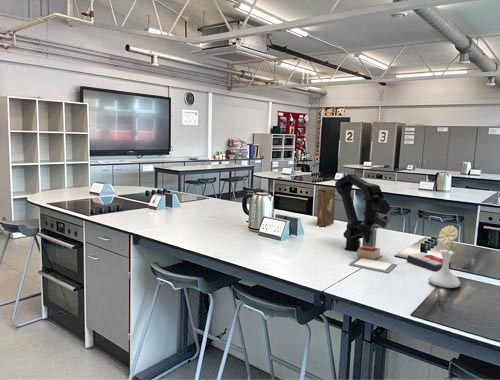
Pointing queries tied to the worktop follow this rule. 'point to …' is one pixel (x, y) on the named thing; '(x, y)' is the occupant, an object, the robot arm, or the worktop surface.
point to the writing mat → (373, 265)
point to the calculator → (426, 261)
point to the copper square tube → (368, 253)
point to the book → (325, 207)
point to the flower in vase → (446, 260)
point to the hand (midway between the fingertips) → (369, 241)
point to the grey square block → (370, 240)
